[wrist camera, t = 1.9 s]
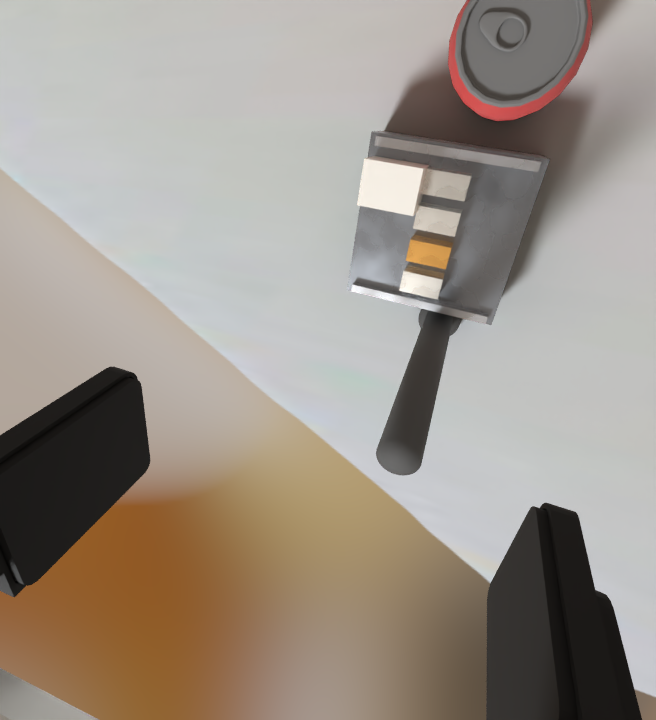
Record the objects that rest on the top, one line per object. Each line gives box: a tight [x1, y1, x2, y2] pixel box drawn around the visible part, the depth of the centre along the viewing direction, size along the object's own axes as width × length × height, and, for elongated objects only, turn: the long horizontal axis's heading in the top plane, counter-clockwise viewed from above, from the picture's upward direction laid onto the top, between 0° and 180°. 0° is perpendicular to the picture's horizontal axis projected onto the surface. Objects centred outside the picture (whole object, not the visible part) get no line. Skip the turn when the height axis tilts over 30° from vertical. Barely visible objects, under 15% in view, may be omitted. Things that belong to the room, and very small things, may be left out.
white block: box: [357, 156, 429, 216], centre depth 30 cm, size 4×3×3 cm
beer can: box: [448, 0, 593, 121], centre depth 25 cm, size 7×7×12 cm
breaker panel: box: [347, 131, 550, 325], centre depth 33 cm, size 12×12×6 cm
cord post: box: [376, 309, 460, 475], centre depth 31 cm, size 4×4×20 cm
